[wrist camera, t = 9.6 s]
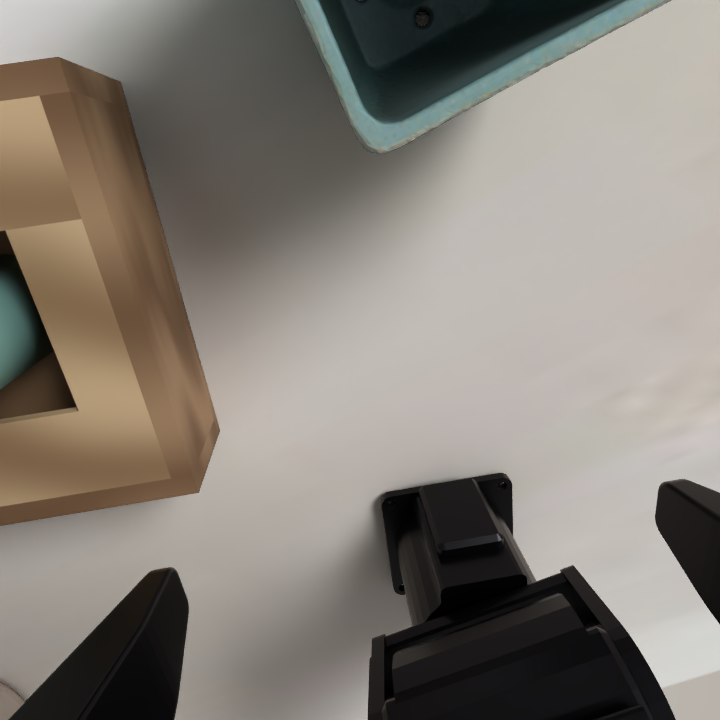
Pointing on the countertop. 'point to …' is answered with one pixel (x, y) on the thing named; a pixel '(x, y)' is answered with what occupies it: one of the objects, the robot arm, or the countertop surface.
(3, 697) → the coffee cup
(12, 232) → the brown wooden box
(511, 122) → the countertop surface
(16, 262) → the dowel
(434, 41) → the flower pot
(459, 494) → the robot arm
